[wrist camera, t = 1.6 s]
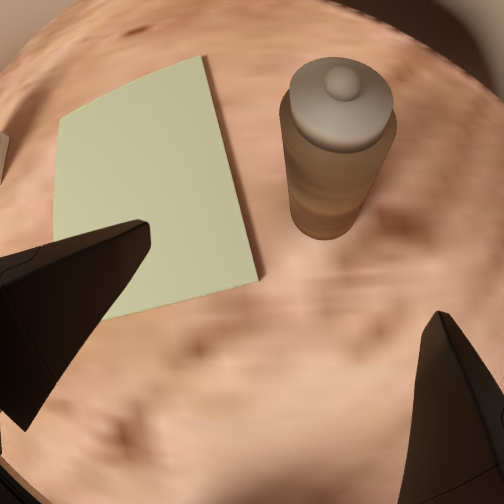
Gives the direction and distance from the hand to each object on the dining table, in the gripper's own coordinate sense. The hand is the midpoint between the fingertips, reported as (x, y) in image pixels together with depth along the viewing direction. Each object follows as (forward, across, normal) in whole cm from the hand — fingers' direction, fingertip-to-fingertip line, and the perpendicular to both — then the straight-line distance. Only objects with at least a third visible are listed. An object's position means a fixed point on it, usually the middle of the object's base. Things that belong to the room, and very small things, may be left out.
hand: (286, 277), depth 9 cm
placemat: (+14, +17, +5) cm, 22 cm away
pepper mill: (+15, 0, +4) cm, 15 cm away
